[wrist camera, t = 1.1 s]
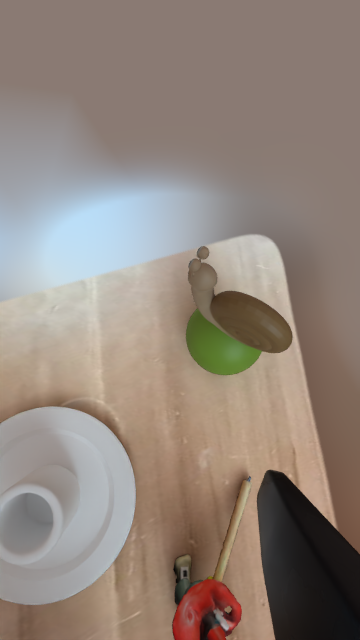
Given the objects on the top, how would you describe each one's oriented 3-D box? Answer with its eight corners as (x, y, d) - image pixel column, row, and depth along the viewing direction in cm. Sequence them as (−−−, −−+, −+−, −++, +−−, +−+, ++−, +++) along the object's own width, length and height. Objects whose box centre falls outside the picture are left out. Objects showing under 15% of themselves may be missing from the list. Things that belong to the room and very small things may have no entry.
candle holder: (-41, 616, 19) (-98, 682, 15) (-44, 420, 21) (-94, 430, 17) (147, 574, 20) (143, 625, 16) (125, 393, 23) (117, 395, 18)
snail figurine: (195, 288, 25) (226, 203, 13) (263, 330, 24) (359, 281, 12) (159, 345, 23) (157, 307, 12) (230, 389, 23) (301, 396, 11)
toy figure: (184, 500, 25) (230, 463, 22) (220, 523, 25) (273, 491, 22) (134, 667, 17) (193, 656, 13) (187, 703, 17) (262, 701, 13)
